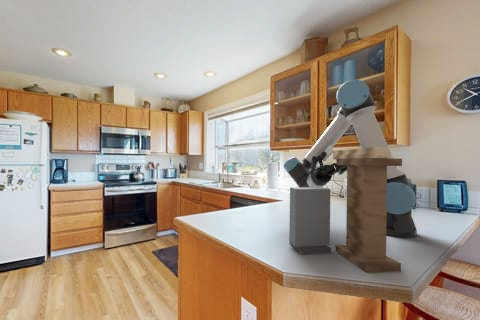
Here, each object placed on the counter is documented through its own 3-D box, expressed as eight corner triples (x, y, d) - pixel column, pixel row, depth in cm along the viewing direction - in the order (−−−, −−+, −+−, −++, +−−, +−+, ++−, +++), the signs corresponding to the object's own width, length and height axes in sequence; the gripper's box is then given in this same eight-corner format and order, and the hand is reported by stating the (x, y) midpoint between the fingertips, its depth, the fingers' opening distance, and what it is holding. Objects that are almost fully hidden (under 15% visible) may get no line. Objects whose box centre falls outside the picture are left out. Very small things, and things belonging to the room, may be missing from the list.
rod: (333, 159, 85) (333, 150, 85) (340, 159, 86) (340, 151, 86) (377, 158, 63) (377, 147, 63) (387, 158, 64) (387, 147, 64)
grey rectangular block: (286, 243, 83) (287, 186, 83) (318, 242, 85) (319, 186, 85) (297, 254, 73) (298, 190, 73) (333, 252, 75) (334, 189, 75)
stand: (335, 251, 76) (336, 158, 77) (363, 250, 78) (364, 159, 78) (367, 272, 61) (368, 157, 62) (401, 270, 63) (402, 158, 63)
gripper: (347, 186, 98) (381, 158, 79) (294, 185, 94) (317, 157, 76) (342, 170, 102) (373, 140, 83) (291, 169, 98) (312, 138, 79)
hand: (347, 148), depth 79 cm, fingers open, 10 cm apart
